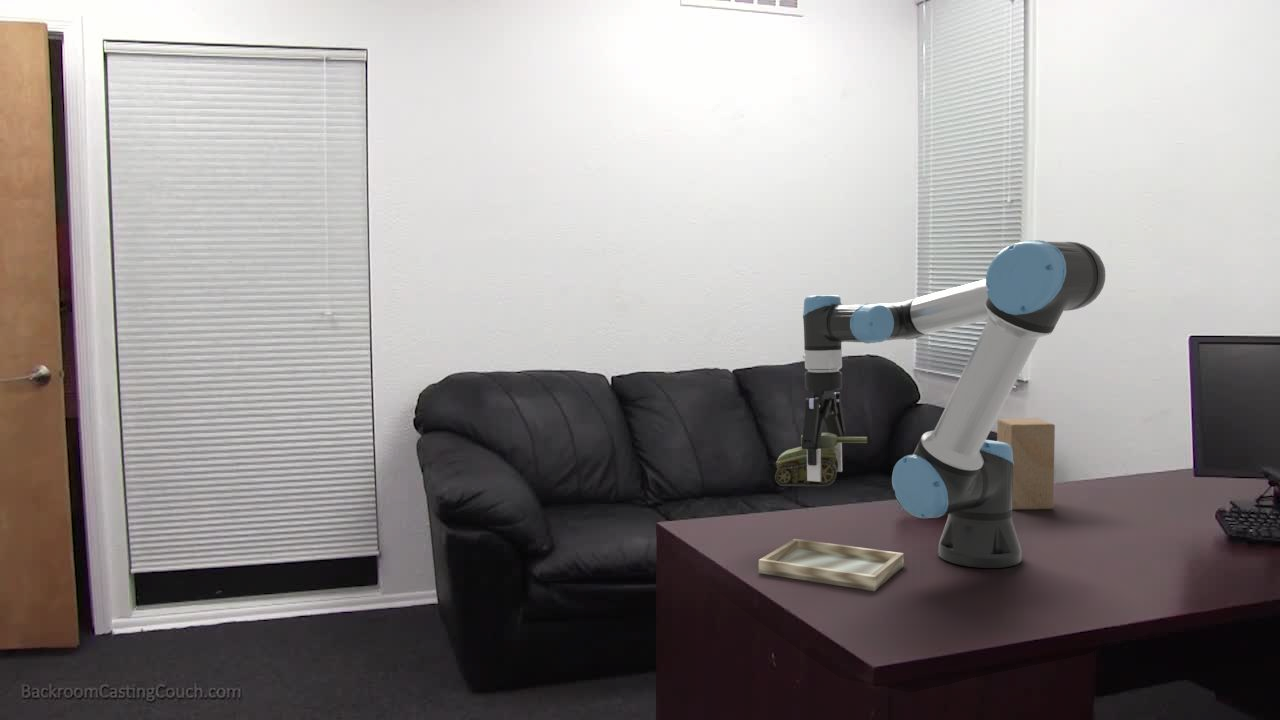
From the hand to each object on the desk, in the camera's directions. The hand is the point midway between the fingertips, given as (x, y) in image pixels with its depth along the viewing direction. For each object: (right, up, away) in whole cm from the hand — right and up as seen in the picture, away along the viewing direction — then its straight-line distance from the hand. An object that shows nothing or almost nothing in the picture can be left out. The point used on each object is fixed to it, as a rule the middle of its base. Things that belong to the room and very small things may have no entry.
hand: (825, 476), depth 204 cm
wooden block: (+53, -11, +30) cm, 62 cm away
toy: (-1, -1, 0) cm, 2 cm away
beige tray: (-2, -15, -19) cm, 25 cm away
